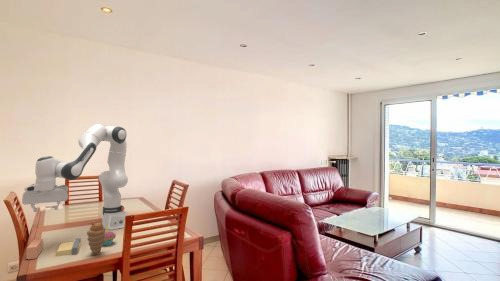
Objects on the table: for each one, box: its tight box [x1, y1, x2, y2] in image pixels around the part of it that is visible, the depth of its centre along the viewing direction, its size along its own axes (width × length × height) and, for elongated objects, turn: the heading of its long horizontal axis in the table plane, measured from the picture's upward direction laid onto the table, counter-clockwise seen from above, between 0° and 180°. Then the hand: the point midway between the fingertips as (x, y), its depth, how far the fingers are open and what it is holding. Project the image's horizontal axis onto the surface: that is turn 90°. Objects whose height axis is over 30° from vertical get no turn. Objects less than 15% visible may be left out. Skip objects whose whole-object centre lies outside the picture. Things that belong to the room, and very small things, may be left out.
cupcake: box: [103, 224, 117, 247], centre depth 158 cm, size 9×8×12 cm
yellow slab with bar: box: [55, 237, 82, 257], centre depth 148 cm, size 10×15×4 cm
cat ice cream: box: [86, 220, 106, 256], centre depth 144 cm, size 9×8×18 cm
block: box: [25, 238, 44, 260], centre depth 141 cm, size 4×12×6 cm, turn 26°
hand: (46, 210), depth 148 cm, fingers open, 8 cm apart
